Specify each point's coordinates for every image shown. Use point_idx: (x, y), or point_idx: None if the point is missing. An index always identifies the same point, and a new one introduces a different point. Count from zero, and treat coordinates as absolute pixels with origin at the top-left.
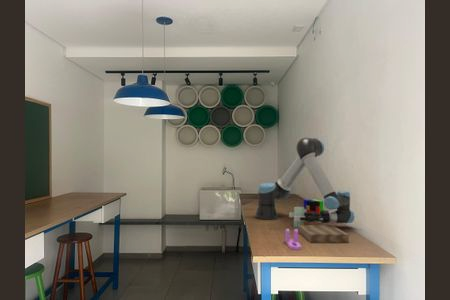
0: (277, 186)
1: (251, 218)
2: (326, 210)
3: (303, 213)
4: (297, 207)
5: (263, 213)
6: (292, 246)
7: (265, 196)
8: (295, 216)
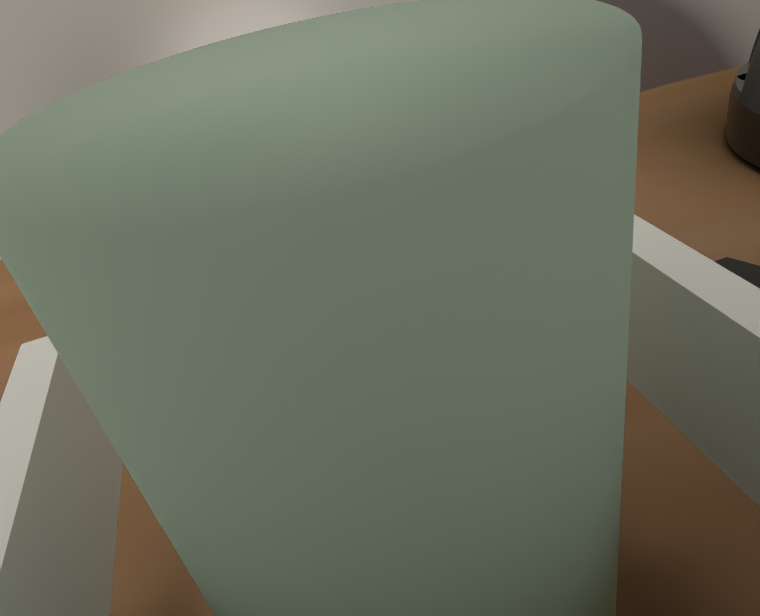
0: None
1: (682, 99)
2: None
3: (179, 525)
4: (266, 56)
5: (752, 61)
6: None
7: None
8: (21, 371)
